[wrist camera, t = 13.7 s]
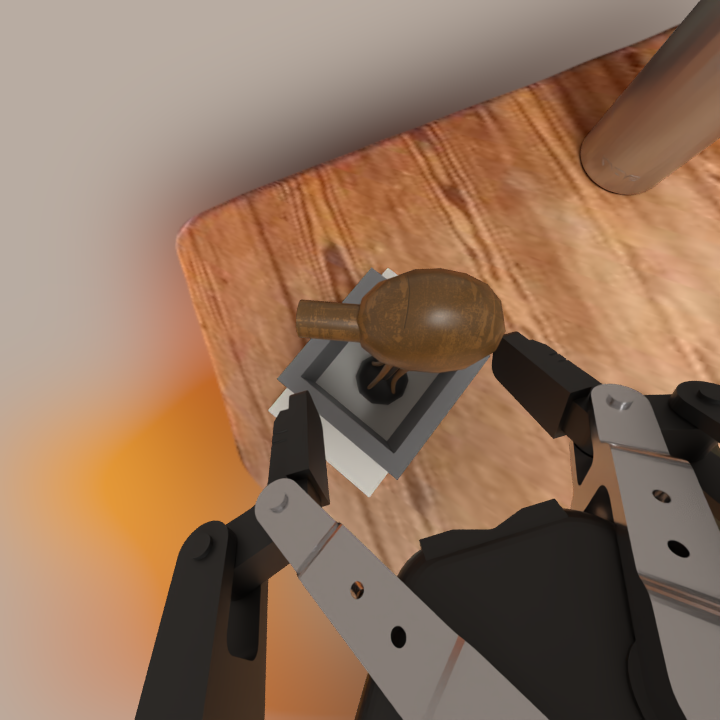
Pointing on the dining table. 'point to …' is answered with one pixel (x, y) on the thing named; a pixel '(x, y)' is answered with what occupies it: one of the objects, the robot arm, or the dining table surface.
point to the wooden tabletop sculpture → (410, 327)
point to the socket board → (369, 404)
